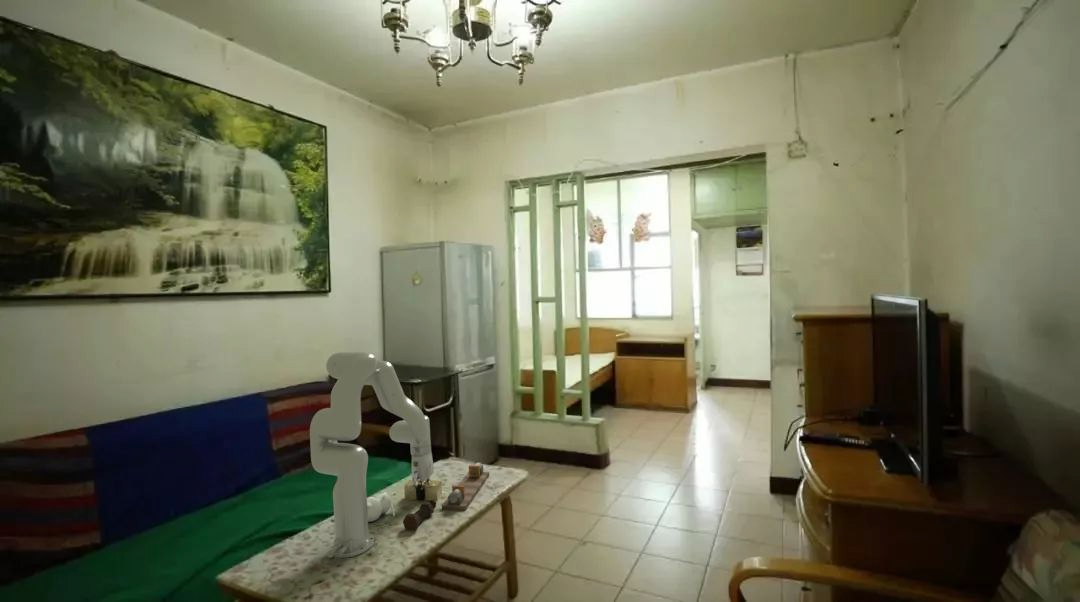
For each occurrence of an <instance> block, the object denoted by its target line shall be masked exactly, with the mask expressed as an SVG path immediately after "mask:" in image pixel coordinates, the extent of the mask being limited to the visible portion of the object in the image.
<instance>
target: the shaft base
mask: <svg viewBox="0 0 1080 602" xmlns="http://www.w3.org/2000/svg"><path fill="white" fill-rule="evenodd" d="M489 477H490V472H489V471H484V465H483V464H482V463H481V462H476V463H475V464H474V465H473V464H472V465H468V472H467V473H466V474H465V476H464V477H463V478H462V479H461V480H460V482H459V483H458V484H453V485H452V486H451V492H450V493H449V495H447V498H446V499H445V501H444V502H443V503H442V504H441V510H443V509H447V510H448V511H451V510H452V511H467V509H468V508H469V506H470V505H471V504H472V502H473V500H474V499H475V497H476V496H477V494H478V493H479V491H480V490H481V489H482V487H483V485H484V484H485V482H486V481H487V480H488V478H489ZM486 479H487V480H486Z"/></svg>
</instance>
